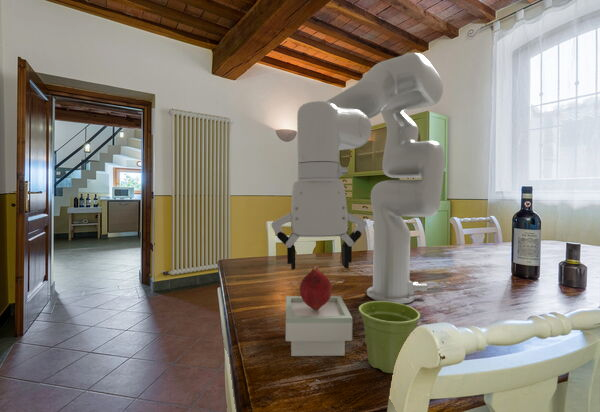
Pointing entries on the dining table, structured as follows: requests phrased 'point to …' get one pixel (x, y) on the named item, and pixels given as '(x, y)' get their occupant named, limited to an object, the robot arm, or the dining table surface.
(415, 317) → the plant pot
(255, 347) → the dining table surface
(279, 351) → the dining table surface
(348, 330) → the pedestal
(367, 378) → the dining table surface
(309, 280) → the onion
